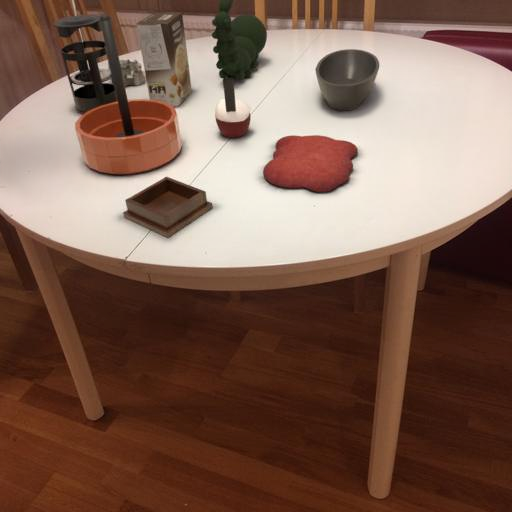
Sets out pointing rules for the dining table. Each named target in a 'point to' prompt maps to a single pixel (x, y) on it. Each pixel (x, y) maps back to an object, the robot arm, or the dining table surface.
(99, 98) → the french press
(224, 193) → the dining table surface
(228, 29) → the green topiary foliage
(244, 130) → the cocoa
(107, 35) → the black plunger
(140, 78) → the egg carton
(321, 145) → the patty
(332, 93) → the bowl
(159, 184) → the small square brown tray
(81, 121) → the orange round dish
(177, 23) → the coffee box
